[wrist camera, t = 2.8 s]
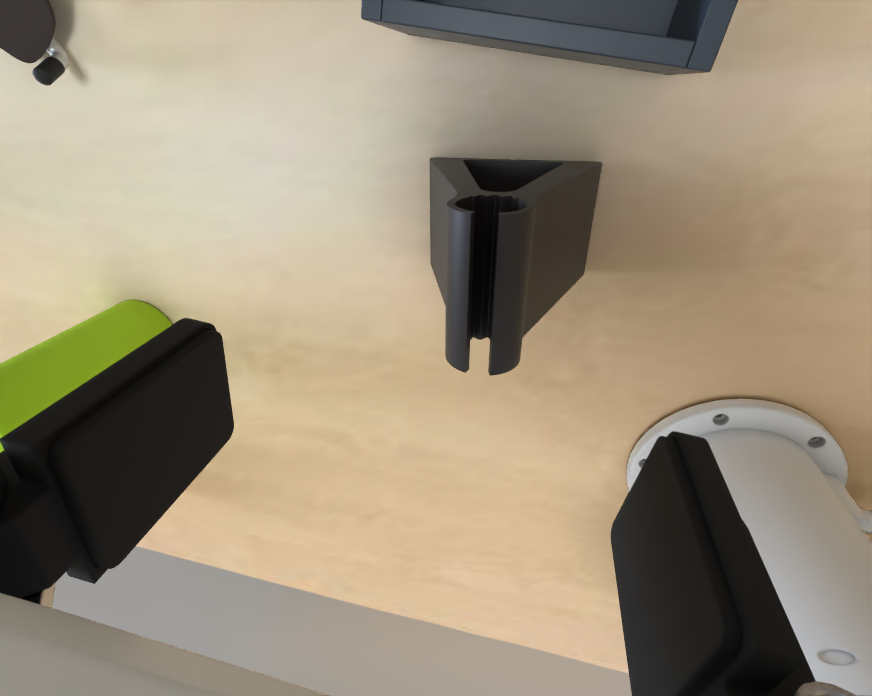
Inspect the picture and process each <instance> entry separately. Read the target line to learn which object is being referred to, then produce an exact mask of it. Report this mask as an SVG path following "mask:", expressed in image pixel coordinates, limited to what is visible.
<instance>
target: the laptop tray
mask: <svg viewBox="0 0 872 696" xmlns="http://www.w3.org/2000/svg"><path fill="white" fill-rule="evenodd" d="M55 24H56V23H55V16H54V12H53V9H52V6H51V4H50V2H49V0H0V48H1V49H3V50H4V51H6V52H7V53H9V54H10V55H12V56H13V57H15V58H17V59H19V60H21V61H23V62H26V63H34V62H36V61H37V60H39V59H40V58H41V57H42V56H43V54H44V53H45V52H46V51H47V52H48V53H49V54H50V55H51V56H50V57H47V58H46V59H45V60H44V61H43V62H41V63H40V64H39V65H38V66H37V67H36V68H34V69H33V75H34V77H35V78H36V80H37V81H39V82H40V83H42V84H44V85H51V84H52V83H53V82H54V81H55V80H56V79H57V78H58V77H60V76H61V75H62V74H63V73H64V71H65V70H66V68H67V67H68V66H69V59H68V56H67V54H66V52H65V50H64V49H63V48H62V46H61V45H60V44H59V43H58V42H57V41H56V40H55V39H54V38H53V35H54V32H55Z"/></svg>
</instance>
